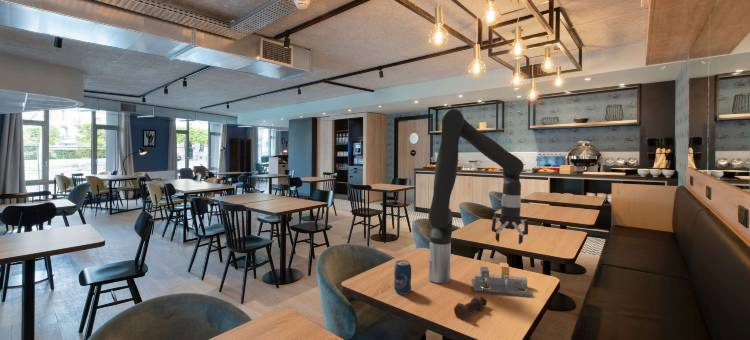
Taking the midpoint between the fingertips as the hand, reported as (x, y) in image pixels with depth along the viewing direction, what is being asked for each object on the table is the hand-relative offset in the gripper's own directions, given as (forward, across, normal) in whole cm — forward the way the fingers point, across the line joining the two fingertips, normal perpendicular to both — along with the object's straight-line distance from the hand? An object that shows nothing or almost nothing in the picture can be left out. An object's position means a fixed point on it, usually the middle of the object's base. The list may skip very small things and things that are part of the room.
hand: (508, 242), depth 144 cm
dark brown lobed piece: (+20, -14, -28) cm, 37 cm away
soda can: (+20, -42, -18) cm, 50 cm away
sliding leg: (+17, -1, -2) cm, 17 cm away
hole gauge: (+19, -3, -4) cm, 19 cm away
